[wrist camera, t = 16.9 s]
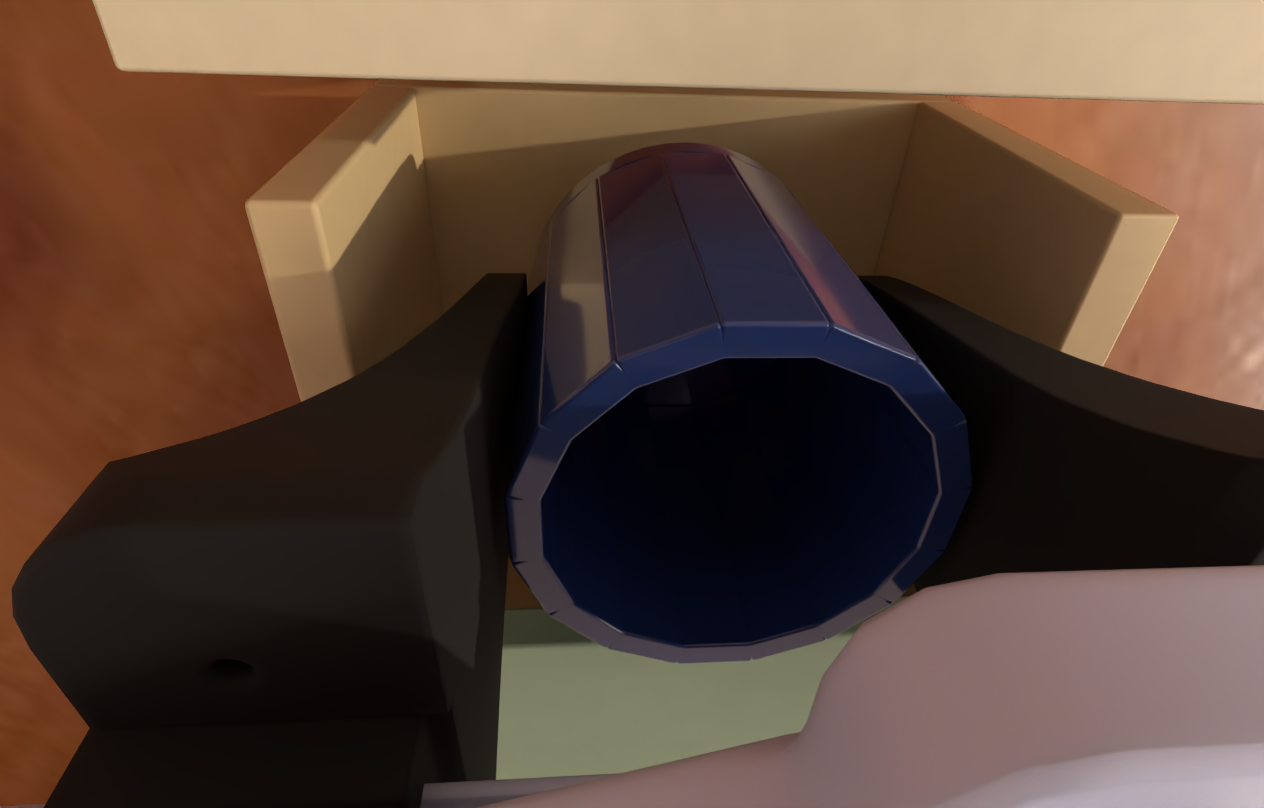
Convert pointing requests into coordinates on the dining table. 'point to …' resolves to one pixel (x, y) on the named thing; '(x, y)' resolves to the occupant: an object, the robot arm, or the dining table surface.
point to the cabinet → (639, 701)
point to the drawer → (698, 141)
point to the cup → (718, 420)
